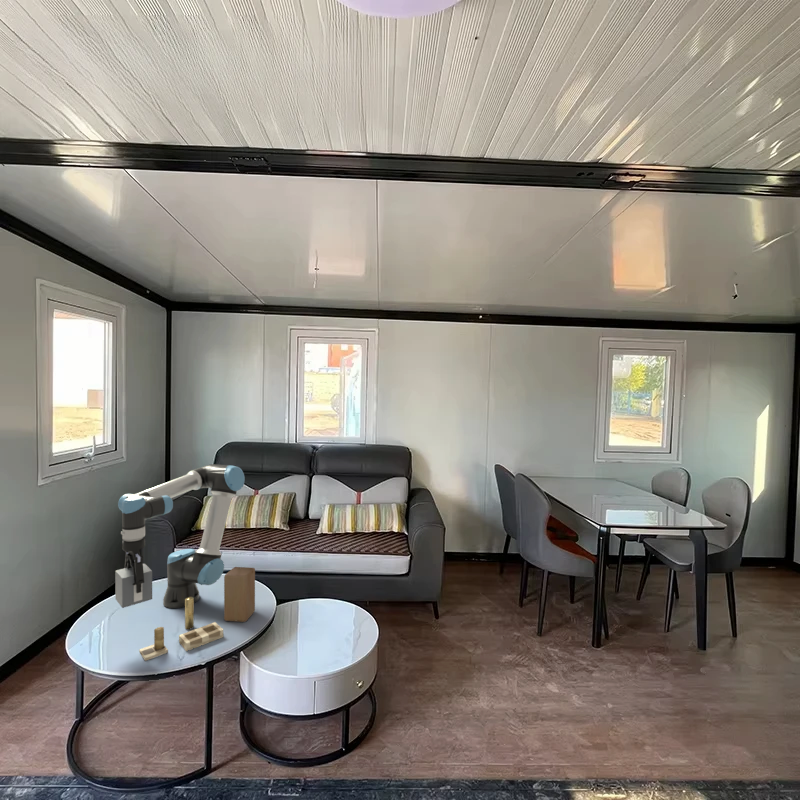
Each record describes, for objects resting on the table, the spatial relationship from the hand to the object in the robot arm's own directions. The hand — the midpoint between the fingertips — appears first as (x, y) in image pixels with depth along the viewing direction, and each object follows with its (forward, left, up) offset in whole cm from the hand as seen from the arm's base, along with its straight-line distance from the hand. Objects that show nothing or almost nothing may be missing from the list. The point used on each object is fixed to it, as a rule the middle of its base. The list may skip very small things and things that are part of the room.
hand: (134, 595), depth 170 cm
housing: (0, 0, -1) cm, 1 cm away
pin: (+1, +20, -19) cm, 28 cm away
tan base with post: (+10, +4, -19) cm, 22 cm away
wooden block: (+7, +39, -20) cm, 44 cm away
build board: (+14, +20, -19) cm, 31 cm away
